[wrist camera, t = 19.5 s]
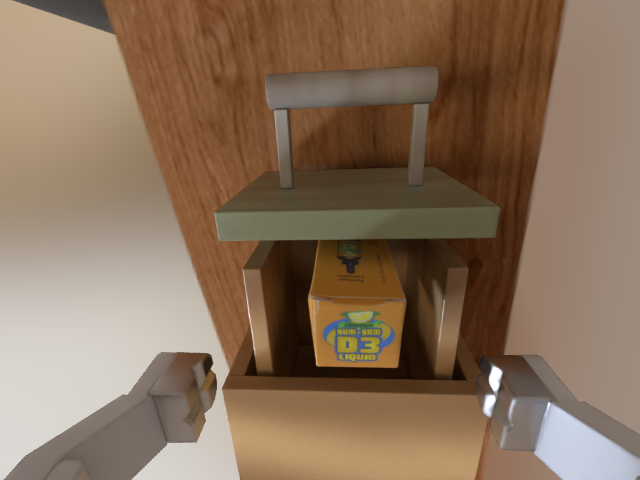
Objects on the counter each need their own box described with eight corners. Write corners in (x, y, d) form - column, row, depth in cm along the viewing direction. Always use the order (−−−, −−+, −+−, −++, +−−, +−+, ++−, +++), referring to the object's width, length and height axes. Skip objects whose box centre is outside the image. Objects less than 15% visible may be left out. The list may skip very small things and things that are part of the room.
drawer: (256, 84, 18) (188, 63, 10) (443, 75, 18) (530, 45, 9) (283, 344, 25) (254, 455, 17) (417, 345, 24) (455, 463, 16)
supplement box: (323, 255, 21) (307, 371, 12) (323, 204, 20) (305, 288, 10) (374, 256, 21) (401, 375, 11) (377, 204, 19) (410, 291, 10)
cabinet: (271, 274, 24) (221, 388, 14) (429, 274, 23) (493, 395, 13) (286, 415, 29) (257, 568, 20) (414, 419, 28) (452, 582, 19)
